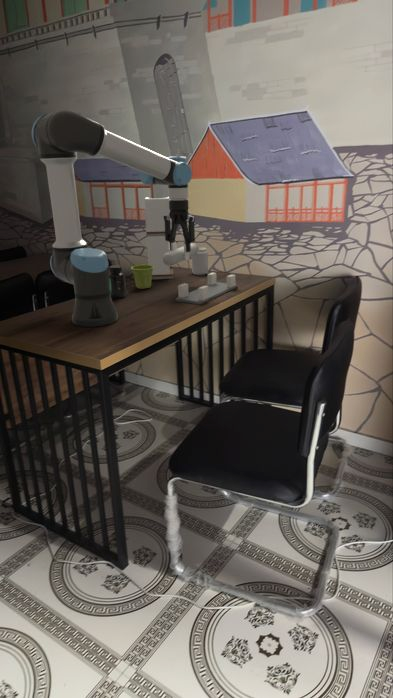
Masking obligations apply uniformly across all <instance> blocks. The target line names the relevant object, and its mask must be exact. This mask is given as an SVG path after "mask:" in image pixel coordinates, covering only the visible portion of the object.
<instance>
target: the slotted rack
mask: <svg viewBox="0 0 393 698" xmlns="http://www.w3.org/2000/svg"><path fill="white" fill-rule="evenodd" d="M217 279H218V278H217V272H210V273H207V285H202V286H199V287H198V288H197V289H195V290H192V291H190V292H189V283H181V284H178V285H177V293H178V296H177V297H176V298H175V301H176V302H180V303H188V304H195V305H202V304H204V303H206V302H209V301H210V300H212V299H215V298H217V297H220V296H221V295H224V294H225V293H228V292H230V291H232V290H235V289H237V288H238V287H239V286H238V285H239V284H236V274H229V275H227V276H226V282H219V281H218V282H217ZM236 287H237V288H236Z"/></svg>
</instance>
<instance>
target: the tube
mask: <svg viewBox="0 0 393 698" xmlns="http://www.w3.org/2000/svg"><path fill="white" fill-rule="evenodd" d="M190 245H191V251H190V252H189V258H192V256H194V255H196V254H197V253H198V252H199V250H198V248H199V245H198V244H197V243H195V242H192V243H191V244H190ZM183 261H184V245H183V246H181V247H177V249H175V250H173V251H170V252H168V253H165V255H164V256H163V262H164V263H165V264H166V265H169V266H170V267H171V266H174V265H177V264H179V263H180V262H183Z"/></svg>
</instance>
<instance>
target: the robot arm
mask: <svg viewBox="0 0 393 698" xmlns="http://www.w3.org/2000/svg"><path fill="white" fill-rule="evenodd" d="M31 138H32V142H33V144H34V145H35V147H36V148H37V150H38V152H39V160H40V161H41V162H42V163H43V164H44V166H45V167H46V175H47V181H48V182H47V183H48V190H49V195H50V204H51V205H50V206H51V210H52V212H51V213H52V219H53V226H54V233H55V241H54V243H52V255H51V256H50V260H49V265H50V269H51V271H52V273H53V274H54V276H55V277H56V278H58V280H60V281H62V282H63V283H64V282H65V283H68V284H71V285H73V288H74V289H73V290H74V305H73V312H72V314H71V320H72V324H73V325H76V326H78V327H88V328H89V327H91V328H92V327H93V328H94V327H102V326H106V325H111V324H113V323H115V322H116V321H118V319H119V315H118V311H117V308H115V304H114V301H113V298H111V294H110V281H109V273H110V272H109V261H108V260H109V259H108V256H107V253H106V252H105V251H103V250H101V249H99V248H92V247H88V242H86V241H85V240H84V239H83V237H82V229H81V227H82V226H81V222H80V211H79V204H78V203H79V202H78V195H77V194H78V193H77V185H76V177H75V170H74V164H75V162H76V161H77V160H78V153H81V154H86V155H88V156H91V157H96V156H97V155H98V156H101V157H103V158H106V159H108V160H111V161H113V162H115V163H118V164H120V165H123V166H126V167H128V168H131V169H133V170H136V171H138V175H139V176H138V178H139V180H140V182H141V183H142V185H147V186H149V185H150V186H152V185H153V186H155V185H163V186H164V185H165V186H167V187H168V188H167V189H168V197H169V199H170V200H169V209H170V213H169V215H165V216H163V218H164V221H165V240H166V241H169V242H170V251H173V250H175V249H178V243H177V242H176V236H177V230H178V227H179V225H180V228H181V230H182V231H181V232H182V235H183V238H184V243H183V246H184V260H183V261H185V262H187V261H188V260H190V257H189V252H190V251H191V245H190V244H191V243H195V241H196V236H195V235H196V234H195V233H196V232H195V221H196V216H195V215H190V213H189V208H190V207H189V199H188V198H189V186H188V185H189V183H190V182H191V181H192V178H193V169H192V167H191V166H190V164H189V163H188V159H187V158H186V156H168V157H167V156H164V155H162V154H160V153H157V152H155V151H153V150H150V149H148V148H147V147H144V146H141V145H140V144H137V143H135V142H133V141H131V140H128V139H126V138H124V137H122V136H120V135H117V134H115V133H113V132H110V131H109V130H106V128H105V126H104V125H103V124H101V123H99V122H97V121H94V120H93V119H90V118H88V117H86V116H84V115H82V114H79V113H77V112H75V111H71V110H64V109H63V110H58V111H53V112H47V113H44V114H42V115H41V116H39V117H38V118H37V119H36V120H35V121H34V123H33V125H32V128H31ZM170 219H171V221H170Z"/></svg>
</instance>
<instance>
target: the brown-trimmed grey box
mask: <svg viewBox="0 0 393 698" xmlns="http://www.w3.org/2000/svg"><path fill="white" fill-rule="evenodd" d="M169 200H170V199H169V196H167V197H161V198H158V197H157V198H152V197H151V198H150V197H148V196H147V197H145V198H144V212H145V214H144V216H145V217H144V218H145V230H146V231H145V232H146V248H147V249H146V252H147V265H152V266H154V268H153V271H152V279H151V280H168V279H169V280H172V279H173V278H174V269H172V268H170V267H171V266H169V265H166V264H165V263H164V262H163V256H164V255H165V253H168V252H170V242H169V241H166V240H165V221H164V218H163V216H165V215H169V213H170V209H169ZM170 221H171V222H172V219H170Z"/></svg>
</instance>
